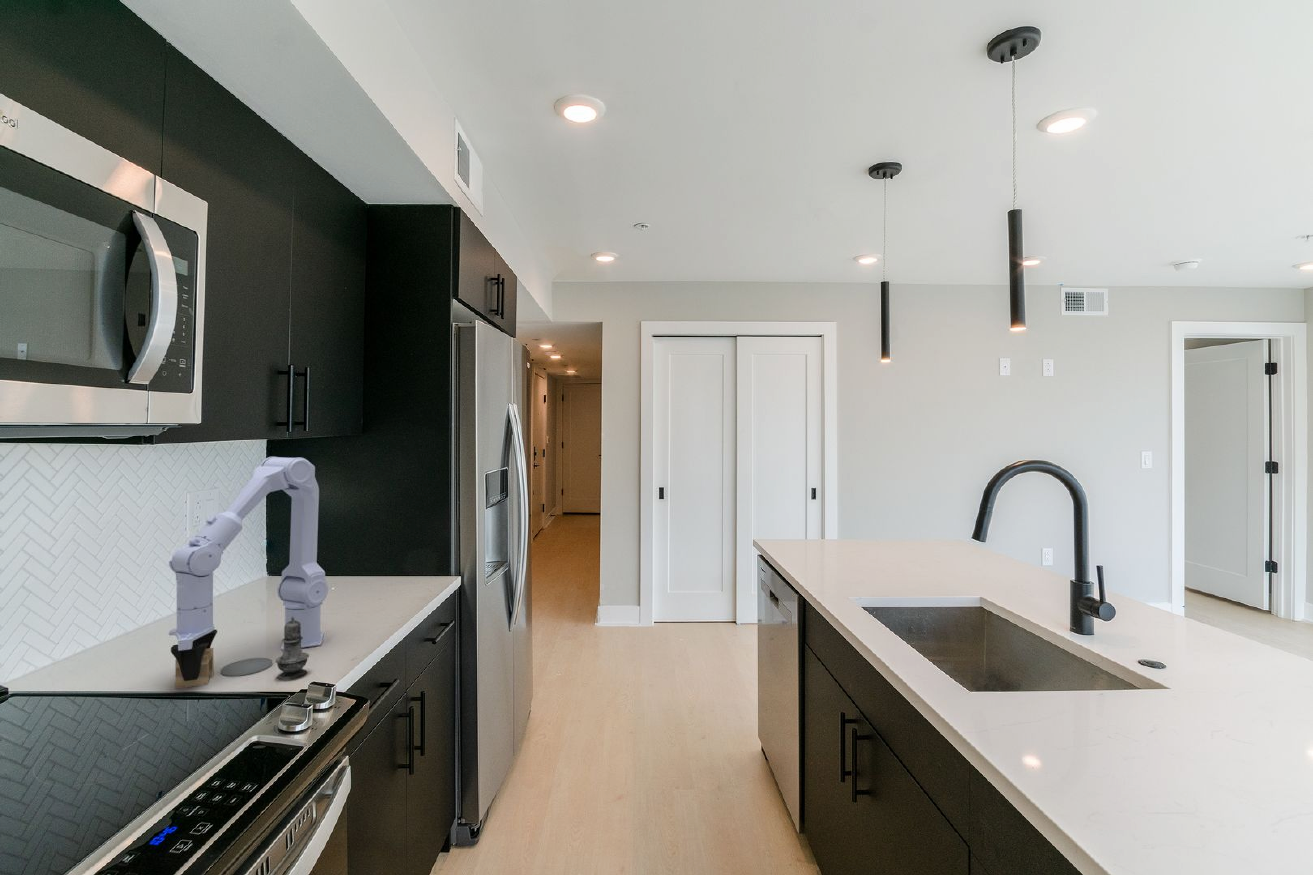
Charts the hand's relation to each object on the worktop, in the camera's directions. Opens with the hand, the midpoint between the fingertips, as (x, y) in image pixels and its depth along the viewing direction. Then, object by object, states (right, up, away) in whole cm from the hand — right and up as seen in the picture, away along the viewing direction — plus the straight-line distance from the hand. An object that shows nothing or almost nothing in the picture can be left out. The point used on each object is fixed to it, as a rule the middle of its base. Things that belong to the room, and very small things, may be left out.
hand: (194, 674), depth 118 cm
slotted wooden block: (0, -1, 0) cm, 1 cm away
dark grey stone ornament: (+17, -2, +4) cm, 18 cm away
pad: (+6, -1, +7) cm, 9 cm away
